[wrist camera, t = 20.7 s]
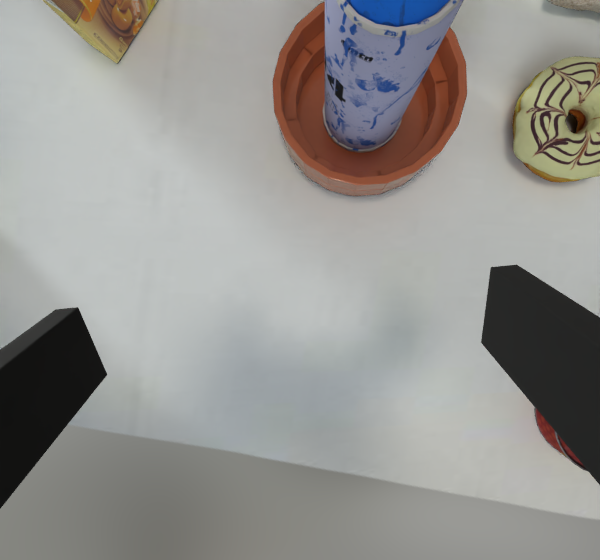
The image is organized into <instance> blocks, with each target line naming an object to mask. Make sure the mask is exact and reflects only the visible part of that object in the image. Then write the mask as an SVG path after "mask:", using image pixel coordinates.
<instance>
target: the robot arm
mask: <svg viewBox="0 0 600 560" xmlns="http://www.w3.org/2000/svg"><path fill="white" fill-rule="evenodd" d="M481 343H482V344H483V345H484V346H485V348H486V349H487V350H488V351H489V352H490V354H491V355H492V356H493V357H494V358H495V360H496V361H497V362H498V363H499V364H500V366H501V367H502V368H503V369H504V370H505V372H506V373H507V374H508V375H509V376H510V378H511V379H512V380H513V381H514V382H515V384H516V385H517V386H518V387H519V388H520V390H521V391H522V392H523V393H524V394H525V396H526V397H527V398H528V399H529V400H530V402H531V403H532V404H533V405H534V406H535V408H536V409H537V410H538V411H539V412H540V414H541V415H542V416H543V417H544V418H545V420H546V421H547V422H548V423H549V424H550V426H551V427H552V428H553V429H554V430H555V432H556V433H557V434H558V435H559V436H560V438H561V439H562V440H563V441H564V442H565V444H566V445H567V446H568V447H569V448H570V450H571V451H572V452H573V453H574V454H575V456H576V457H577V458H578V459H579V460H580V462H581V463H582V464H583V465H584V466H585V468H586V469H587V470H588V471H589V472H590V474H591V475H592V476H593V477H594V478H595V480H596V481H597V482H598V483H599V484H600V317H598V316H596V315H595V314H593V313H592V312H590V311H589V310H587V309H585V308H584V307H582V306H581V305H579V304H578V303H576V302H574V301H573V300H571V299H570V298H568V297H567V296H565V295H563V294H562V293H560V292H559V291H557V290H556V289H554V288H552V287H551V286H549V285H548V284H546V283H545V282H543V281H541V280H540V279H538V278H537V277H535V276H534V275H532V274H530V273H529V272H527V271H526V270H524V269H523V268H521V267H519V266H518V265H510V266H499V267H491V271H490V279H489V286H488V294H487V302H486V310H485V318H484V325H483V333H482V341H481ZM106 375H107V373H106V371H105V369H104V366H103V364H102V362H101V359H100V357H99V355H98V352H97V350H96V348H95V346H94V343H93V341H92V339H91V336H90V334H89V332H88V329H87V327H86V325H85V322H84V320H83V318H82V315H81V313H80V311H79V308H67V309H57V310H54V311H53V312H52V313H50V314H49V315H48V316H46V317H45V318H43V319H42V320H41V321H39V322H38V323H37V324H35V325H34V326H33V327H31V328H30V329H28V330H27V331H26V332H24V333H23V334H22V335H20V336H19V337H17V338H16V339H15V340H13V341H12V342H11V343H9V344H8V345H7V346H5V347H4V348H2V349H1V350H0V508H1V507H2V506H3V504H4V503H5V502H6V501H7V500H8V498H9V497H10V496H11V494H12V493H13V492H14V491H15V489H16V488H17V487H18V486H19V484H20V483H21V482H22V481H23V479H24V478H25V477H26V476H27V474H28V473H29V472H30V471H31V469H32V468H33V467H34V466H35V464H36V463H37V462H38V461H39V459H40V458H41V457H42V456H43V454H44V453H45V452H46V451H47V449H48V448H49V447H50V446H51V444H52V443H53V442H54V440H55V439H56V438H57V437H58V435H59V434H60V433H61V432H62V431H63V429H64V428H65V427H66V426H67V424H68V423H69V422H70V421H71V419H72V418H73V417H74V416H75V414H76V413H77V412H78V411H79V409H80V408H81V407H82V406H83V404H84V403H85V402H86V401H87V399H88V398H89V397H90V395H91V394H92V393H93V392H94V390H95V389H96V388H97V387H98V385H99V384H100V383H101V382H102V380H103V379H104V378H105V377H106Z"/></svg>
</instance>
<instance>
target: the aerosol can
mask: <svg viewBox="0 0 600 560" xmlns="http://www.w3.org/2000/svg"><path fill="white" fill-rule="evenodd" d="M462 2H463V0H325V102H324V106H323V120H324V126H325V128H326V130H327V132H328V135H329V136H330V137H331V139H332V140H333V141H334V142H335V143H336V144H337V145H338V146H340V147H342V148H344V149H346V150H348V151H352V152H357V153H364V152H371V151H374V150H376V149H378V148H380V147H383V146H384V145H385V144H386V143H387V142H389V141H390V140H391V139H392V138H393V137H394V135H395V133H396V131H397V130H398V128H399V126H400V124H401V120H402V117H403V115H404V113H405V111H406V109H407V107H408V105H409V103H410V101H411V99H412V97H413V96H414V94H415V92H416V90H417V88H418V86H419V84H420V82H421V80H422V78H423V77H424V75H425V73H426V71H427V69H428V67H429V65H430V63H431V61H432V59H433V58H434V56H435V54H436V52H437V50H438V48H439V46H440V44H441V42H442V40H443V39H444V37H445V35H446V33H447V31H448V29H449V27H450V25H451V23H452V21H453V19H454V18H455V16H456V14H457V12H458V10H459V8H460V6H461V4H462Z"/></svg>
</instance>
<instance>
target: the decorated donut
mask: <svg viewBox="0 0 600 560" xmlns="http://www.w3.org/2000/svg"><path fill="white" fill-rule="evenodd" d="M568 112H569V113H570V114H572V115H573V116H574V117H575V118H576V119H577V122H578V124H577V125H578V126H577V130H576V133H575V134H574V133H572V132H571V131H569V129H568V127H567V125H566V123H565V119H566V117H567V115H568ZM512 126H513V138H514V143H513V150H514V153H515V155H516V157H517V158H518V159H519V160H521V161H522V162H523V163H524V164H525V165H526V167H528V168H529V169H530V170H531V171H532V172H533V173H535V174H536V175H538V176H540V177H542V178H543V179H546V180H548V181H552V182H569V181H577V180H580V179H585V178H589V177H595V176H600V58H589V57H569V58H565V59H562V60H560V61H558V62H556V63H554V64H553V65H551V66H549V67H548V68H547V69H545V70H544V71H542V72H540V73H539V74H538V75H537V76H535V78H534V79H533V80H532V82H531V83H530V85H529V86H528V87H527V88H526V89H525V90H524V92H523V93H522V95H521V96H520V97H519V99H518V102H517V104H516V108H515V111H514V115H513V124H512Z"/></svg>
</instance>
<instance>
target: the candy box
mask: <svg viewBox="0 0 600 560" xmlns="http://www.w3.org/2000/svg"><path fill="white" fill-rule="evenodd" d="M43 1H44V2H45V3H46V4H47V5H48V6H49V7H50V8H51V9H52V10H53V11H55V12H56V13H57V14H58V15H59V16H60V17H61V18H62V19H63V20H64V21H65V22H66V23H67V24H68V25H69V26H70V27H71V28H73V29H74V30H75V31H76V32H77V33H78V34H79V35H80V36H81V37H82V38H83V39H84V40H85V41H86V42H88V43H89V44H90V45H92V46H93V47H94V48H96V49H97V50H98V51H100V52H101V53H103V54H104V55H106V56H107V57H108V58H110V59H111V60H113V61H114V62H115V63H118V62H119V60H120V59H121V57H122V56H123V54H124V53H125V52H126V50H127V48H128V47H129V45H130V43H131V41H132V40H133V38H134V37H135V35H136V34H137V33H138V31H139V29H140V28H141V26H142V25H143V23H144V21H145V20H146V18H147V17H148V15H149V13H150V12H151V10H152V9H153V7H154V6H155V4H156V2H157V1H158V0H43Z"/></svg>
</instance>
